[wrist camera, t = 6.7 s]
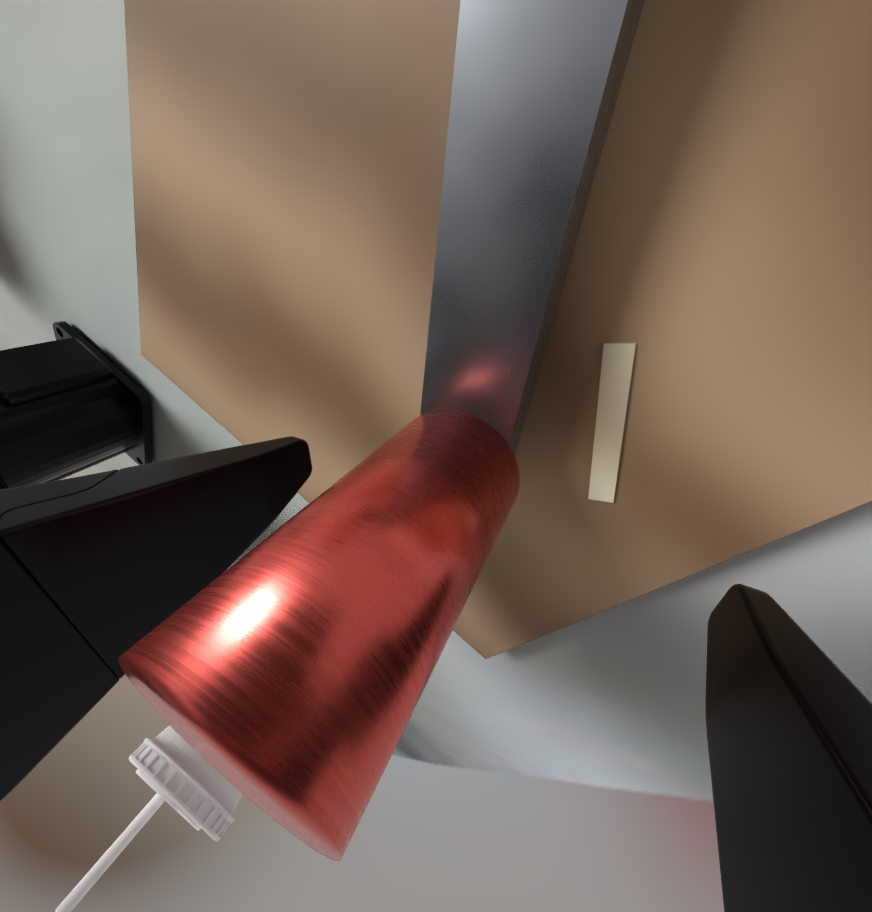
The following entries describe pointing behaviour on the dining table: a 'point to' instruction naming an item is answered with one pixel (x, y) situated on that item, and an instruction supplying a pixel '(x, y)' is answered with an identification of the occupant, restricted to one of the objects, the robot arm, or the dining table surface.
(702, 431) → the press board
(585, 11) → the lever
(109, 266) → the dining table surface
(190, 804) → the smoothie
